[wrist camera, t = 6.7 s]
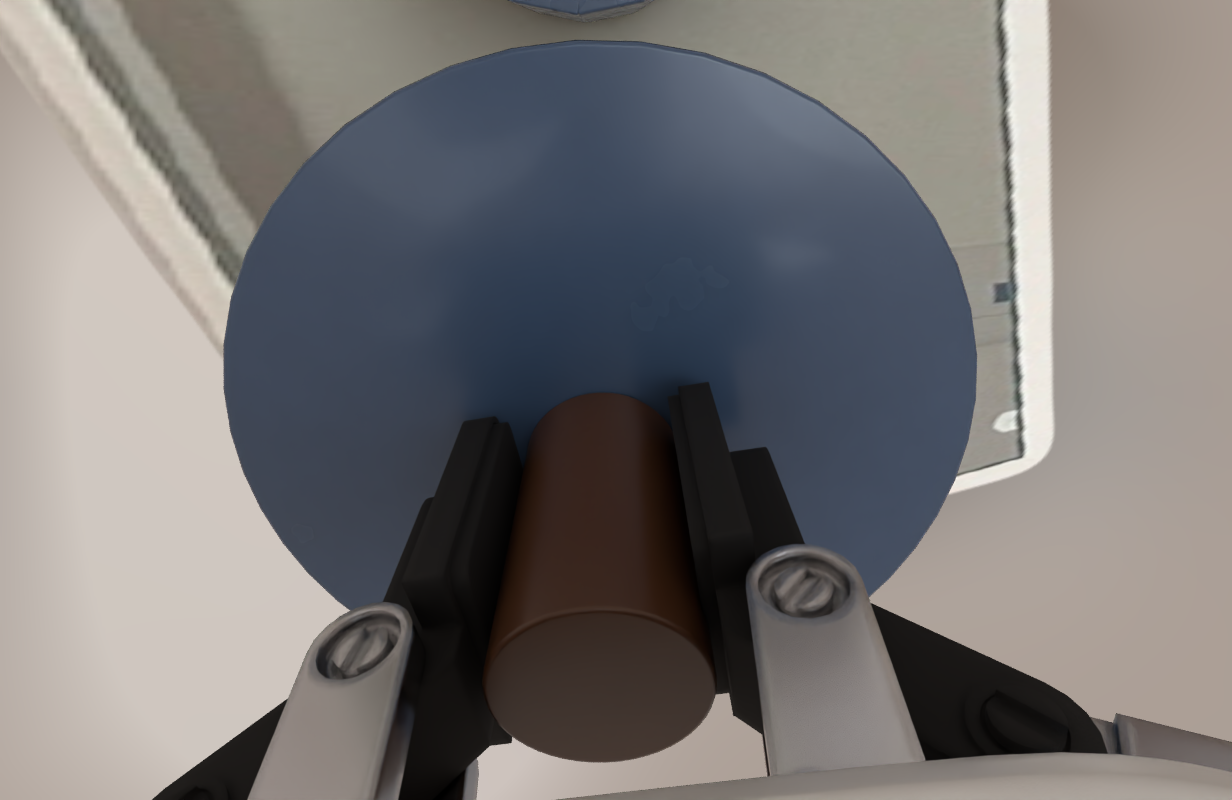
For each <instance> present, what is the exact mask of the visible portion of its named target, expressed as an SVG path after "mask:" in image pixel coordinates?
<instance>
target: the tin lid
mask: <svg viewBox="0 0 1232 800" xmlns="http://www.w3.org/2000/svg"><path fill="white" fill-rule="evenodd" d="M976 374H977V351H976V344H975V336H974V328H973V321H972V313H971V307H970V304H969V301H968V297H967V294H966V290H965V287H964V284H963V280H962V277H961V274H960V270H959V267H958V264H957V261H956V259H955V257H954V255H953V253H952V251H951V249H950V247H949V245H948V243H947V241H946V239H945V237H944V235H943V233H942V231H941V229H940V227H939V225H938V222H937V220H936V218H935V217H934V215H933V214H932V213H931V211H930V210H929V208H928V207H927V206H926V204H925V203H924V201H923V200H922V199H921V197H920V196H919V194H918V193H917V192H916V190H915V189H914V187H913V186H912V184H911V183H910V182H909V180H908V179H907V177H906V176H905V175H904V174H903V173H902V172H901V171H900V170H899V169H898V168H897V167H896V166H895V165H894V164H893V163H892V162H891V161H890V160H889V159H888V158H887V156H886V155H885V154H884V153H883V152H882V151H881V150H880V149H879V148H878V147H877V146H876V145H875V144H874V143H873V142H872V141H871V140H870V139H869V138H868V137H867V136H866V135H864V134H863V133H862V132H860V131H859V130H858V129H856V128H855V127H854V126H852V125H851V124H849V123H848V122H847V121H845V120H844V119H843V118H841V117H840V116H839V115H837V114H836V113H834V112H833V111H832V110H830V109H829V108H828V107H826V106H825V105H824V104H822V103H821V102H819V101H818V100H816V99H814V98H812V97H810V96H808V95H806V94H804V93H802V92H801V91H799V90H797V89H795V88H793V87H791V86H789V85H787V84H785V83H783V82H781V81H779V80H777V79H775V78H773V77H771V76H770V75H768V74H766V73H763V72H760V71H757V70H755V69H752V68H749V67H746V66H743V65H740V64H737V63H734V62H731V61H728V60H725V59H722V58H719V57H716V56H713V55H710V54H707V53H703V52H698V51H692V50H686V49H681V48H675V47H669V46H663V45H658V44H652V43H646V42H638V41H595V40H572V41H564V42H556V43H549V44H541V45H533V46H525V47H517V48H511V49H507V50H504V51H500V52H497V53H493V54H490V55H486V56H483V57H479V58H476V59H472V60H469V61H465V62H462V63H458V64H455V65H451V66H449V67H446V68H444V69H442V70H440V71H438V72H436V73H433V74H431V75H429V76H427V77H425V78H423V79H420V80H418V81H416V82H414V83H412V84H410V85H407V86H405V87H403V88H401V89H399V90H397V91H394V92H393V93H391V94H390V95H388V96H387V97H385V98H384V99H382V100H381V101H379V102H378V103H376V104H375V105H373V106H372V107H370V108H369V109H367V110H366V111H364V112H363V113H361V114H360V115H358V116H357V117H355V118H354V119H352V120H351V121H349V122H348V123H346V124H345V125H344V126H343V127H342V128H341V129H340V130H338V131H337V132H336V133H335V134H334V135H333V136H332V137H331V138H330V139H329V140H328V141H327V142H326V143H325V144H323V145H322V146H321V147H320V148H319V149H318V150H317V151H316V152H315V153H314V154H313V155H312V156H311V157H310V158H308V159H307V160H306V161H305V162H304V163H303V164H302V166H301V167H300V168H299V170H298V171H297V172H296V174H295V175H294V176H293V177H292V179H291V180H290V181H289V183H288V184H287V185H286V187H285V188H284V189H283V190H282V192H281V193H280V194H279V196H278V197H277V198H276V200H275V201H274V202H273V203H272V205H271V206H270V208H269V210H268V212H267V214H266V215H265V217H264V219H263V221H262V223H261V225H260V227H259V229H258V230H257V232H256V234H255V236H254V238H253V240H252V242H251V244H250V245H249V247H248V249H247V251H246V254H245V257H244V260H243V263H242V266H241V269H240V272H239V275H238V278H237V281H236V284H235V287H234V290H233V293H232V296H231V301H230V307H229V314H228V320H227V326H226V333H225V339H224V394H225V400H226V407H227V413H228V419H229V425H230V431H231V435H232V438H233V441H234V444H235V448H236V451H237V454H238V457H239V460H240V464H241V467H242V470H243V472H244V475H245V477H246V479H247V481H248V483H249V485H250V487H251V490H252V492H253V494H254V496H255V498H256V500H257V502H258V504H259V506H260V508H261V510H262V512H263V513H264V514H265V516H266V518H267V519H268V521H269V522H270V524H271V526H272V527H273V529H274V530H275V532H276V533H277V535H278V536H279V538H280V539H281V541H282V542H283V544H284V545H285V546H286V547H287V549H288V550H289V551H290V552H291V553H292V555H293V556H294V557H295V558H296V559H297V561H298V562H299V563H300V564H301V565H302V566H303V568H304V569H305V570H306V571H307V572H308V574H309V575H311V576H312V577H313V578H314V579H315V580H316V581H317V582H318V583H319V584H320V585H321V586H322V587H323V588H324V589H325V590H326V591H327V592H328V593H329V594H331V595H332V596H333V597H334V598H335V599H336V600H337V601H338V602H340V603H341V604H342V605H343V606H345V607H346V608H348V609H349V610H350V611H351V610H353V609H355V608H357V607H361V606H364V605H367V604H370V603H378V602H383V600H384V597H385V595H386V592H387V590H388V588H389V585H390V583H391V580H392V578H393V575H394V573H395V570H396V568H397V565H398V563H399V560H400V558H401V555H402V553H403V550H404V548H405V546H406V543H407V541H408V538H409V536H410V533H411V531H412V528H413V526H414V523H415V521H416V518H417V516H418V513H419V511H420V508H421V506H422V504H423V503H424V501H425V500H426V499H428V498H430V497H434V496H435V493H436V490H437V488H438V485H439V483H440V480H441V477H442V475H443V472H444V470H445V467H446V464H447V462H448V459H449V457H450V454H451V451H452V449H453V446H454V444H455V441H456V438H457V436H458V433H459V431H460V428H461V425H462V423H463V422H464V421H467V420H474V419H480V418H486V417H492V416H495V417H496V418H497V419H498V421H499V423H505V422H508V423H509V425H510V427H511V430H512V433H513V436H514V440H515V443H516V446H517V450H518V453H519V456H520V460H521V463H522V466H523V474H522V479H521V484H520V489H519V494H518V499H517V504H516V509H515V514H514V519H513V524H512V529H511V534H510V539H509V544H508V549H507V554H506V559H505V564H504V569H503V574H502V579H501V584H500V589H499V594H498V599H497V604H496V609H495V614H494V619H493V624H492V630H491V635H490V640H489V645H488V650H487V655H486V660H485V665H484V670H483V677H482V688H483V695H484V698H485V701H486V704H487V707H488V709H489V711H490V713H491V714H492V716H493V718H494V719H495V720H496V721H497V723H498V724H499V725H500V726H501V727H502V728H503V729H504V730H505V731H506V732H507V733H508V734H510V735H511V736H512V737H514V738H515V739H516V740H518V741H520V742H521V743H523V744H525V745H526V746H528V747H531V748H533V749H535V750H537V751H539V752H542V753H545V754H548V755H551V756H555V757H559V758H562V759H568V760H574V761H581V762H618V761H625V760H631V759H636V758H640V757H644V756H648V755H650V754H654V753H657V752H660V751H662V750H664V749H666V748H668V747H671V746H672V745H674V744H676V743H678V742H679V741H681V740H683V739H684V738H685V737H687V736H688V735H689V734H691V733H692V732H693V731H694V730H695V729H696V728H697V727H698V726H699V725H700V724H701V723H702V721H703V720H704V719H705V718H706V716H707V714H708V713H709V711H710V709H711V707H712V704H713V701H714V698H715V695H716V689H717V674H716V668H715V662H714V656H713V650H712V645H711V639H710V633H709V628H708V624H707V620H706V618H705V616H704V613H703V611H702V608H701V602H700V595H699V589H698V583H697V577H696V571H695V565H694V559H693V552H692V546H691V540H690V534H689V528H688V522H687V515H686V509H685V503H684V497H683V491H682V485H681V479H680V472H679V466H678V460H677V454H676V448H675V441H674V435H673V429H672V423H671V416H670V410H669V404H668V397H667V396H673V395H679V391H678V387H679V386H685V385H691V384H697V383H704V382H709V384H710V388H711V391H712V394H713V398H714V401H715V405H716V408H717V412H718V415H719V418H720V422H721V425H722V429H723V432H724V435H725V439H726V442H727V446H728V449H729V452H733V451H739V450H746V449H753V448H759V447H766V448H767V449H768V451H769V453H770V455H771V458H772V461H773V463H774V466H775V468H776V471H777V473H778V476H779V478H780V481H781V484H782V486H783V489H784V491H785V494H786V496H787V499H788V502H789V504H790V507H791V509H792V512H793V514H794V517H795V520H796V522H797V525H798V527H799V530H800V532H801V535H802V537H803V540H804V543H805V544H811V545H815V546H820V547H824V548H828V549H830V550H832V551H834V552H836V553H838V554H840V555H842V556H844V557H845V558H846V559H847V560H848V561H849V562H850V563H852V564H853V565H854V566H855V567H856V569H857V571H858V573H859V574H860V576H861V578H862V580H863V583H864V586H865V588H866V591H867V594H868V597H870V596H871V595H872V594H873V593H874V592H875V591H876V590H877V589H878V588H879V587H880V586H882V585H883V584H884V583H885V582H886V581H887V580H888V579H889V578H890V577H891V576H892V575H893V574H894V573H895V571H896V570H897V569H898V568H899V567H900V566H901V564H902V563H903V562H904V561H905V560H906V559H907V558H908V556H909V555H910V554H911V553H912V552H913V551H914V549H915V548H916V547H917V545H918V544H919V542H920V541H921V539H922V538H923V536H924V535H925V533H926V532H927V530H928V529H929V527H930V526H931V524H932V523H933V521H934V520H935V518H936V517H937V515H938V513H939V511H940V509H941V507H942V505H943V503H944V501H945V499H946V497H947V495H948V493H949V491H950V489H951V487H952V485H953V483H954V481H955V479H956V476H957V473H958V470H959V467H960V464H961V461H962V458H963V455H964V452H965V449H966V446H967V443H968V439H969V434H970V428H971V423H972V417H973V412H974V406H975V401H976Z"/></svg>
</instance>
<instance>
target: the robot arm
mask: <svg viewBox="0 0 1232 800" xmlns="http://www.w3.org/2000/svg"><path fill="white" fill-rule="evenodd" d="M678 391H679V395H673V396H667V397H668V404H669V410H670V416H671V423H672V429H673V435H674V441H675V448H676V454H677V460H678V466H679V472H680V479H681V485H682V491H683V497H684V503H685V509H686V515H687V522H688V528H689V534H690V540H691V546H692V552H693V559H694V565H695V571H696V577H697V583H698V589H699V595H700V602H701V608H702V611H703V613H704V616H705V618H706V620H707V624H708V628H709V633H710V639H711V645H712V650H713V656H714V662H715V668H716V674H717V689H716V694H723V693H729V694H730V700H731V705H732V710H733V716H736V717H737V718H739V719H740V720H742V721H743V722H745V723H746V724H748V725H749V726H751V727H752V728H754V729H755V730H757V731H758V732H759V733H761V734H762V741H763V749H764V756H765V763H766V772H767V777H760V778H751V779H741V780H732V781H722V782H713V783H704V784H695V785H686V786H676V787H667V788H657V789H648V790H639V791H630V792H622V793H612V794H603V795H595V796H585V797H576V798H567V799H558V800H1232V742H1229V741H1225V740H1221V739H1217V738H1213V737H1209V736H1205V735H1201V734H1197V733H1193V732H1189V731H1185V730H1181V729H1177V728H1173V727H1169V726H1165V725H1161V724H1157V723H1153V722H1149V721H1145V720H1141V719H1137V718H1133V717H1129V716H1125V715H1121V714H1117V713H1116V715H1115V719H1114V722H1113V723H1112V722H1108V721H1104V720H1100V719H1096V718H1092V717H1089V715H1088V714H1087V713H1086V712H1085V711H1084V710H1083V709H1082V708H1081V707H1080V706H1078V705H1077V704H1076V703H1075V702H1074V701H1073V700H1072V699H1071V698H1069V697H1068V696H1067V695H1065V694H1064V693H1062V692H1060V691H1058V690H1057V689H1055V688H1053V687H1051V686H1050V685H1048V684H1046V683H1044V682H1042V681H1040V680H1038V679H1036V678H1033V677H1031V676H1029V675H1027V674H1024V673H1023V672H1020V671H1018V670H1016V669H1014V668H1012V667H1009V666H1007V665H1005V664H1002V663H1001V662H998V661H996V660H994V659H992V658H990V657H988V656H985V655H983V654H981V653H979V652H977V651H974V650H972V649H970V648H968V647H966V646H964V645H961V644H959V643H957V642H955V641H953V640H950V639H948V638H946V637H944V636H942V635H940V634H937V633H935V632H933V631H931V630H929V629H926V628H924V627H922V626H920V625H918V624H916V623H913V622H911V621H909V620H907V619H905V618H902V617H900V616H898V615H896V614H894V613H891V612H889V611H887V610H885V609H883V608H881V607H878V606H876V605H874V604H872V603H870V600H869V597H868V594H867V591H866V588H865V586H864V583H863V580H862V578H861V576H860V574H859V573H858V571H857V569H856V567H855V566H854V565H853V564H852V563H850V562H849V561H848V560H847V559H846V558H845V557H844V556H842V555H840V554H838V553H836V552H834V551H832V550H830V549H828V548H824V547H820V546H815V545H811V544H805V543H804V540H803V537H802V535H801V532H800V530H799V527H798V525H797V522H796V520H795V517H794V514H793V512H792V509H791V507H790V504H789V502H788V499H787V496H786V494H785V491H784V489H783V486H782V484H781V481H780V478H779V476H778V473H777V471H776V468H775V466H774V463H773V461H772V458H771V455H770V453H769V451H768V449H767V448H766V447H759V448H753V449H746V450H739V451H733V452H729V449H728V446H727V442H726V439H725V435H724V432H723V429H722V425H721V422H720V418H719V415H718V412H717V408H716V405H715V401H714V398H713V394H712V391H711V388H710V384H709V382H704V383H697V384H691V385H685V386H679V387H678ZM522 474H523V466H522V463H521V460H520V456H519V453H518V450H517V446H516V443H515V440H514V436H513V433H512V430H511V427H510V425H509V423H508V422H505V423H499V421H498V419H497V418H496V417H495V416H492V417H486V418H480V419H474V420H467V421H464V422H463V423H462V425H461V428H460V431H459V433H458V436H457V438H456V441H455V444H454V446H453V449H452V451H451V454H450V457H449V459H448V462H447V464H446V467H445V470H444V472H443V475H442V477H441V480H440V483H439V485H438V488H437V490H436V493H435V496H434V497H430V498H428V499H426V500H425V501H424V503H423V504H422V506H421V508H420V511H419V513H418V516H417V518H416V521H415V523H414V526H413V528H412V531H411V533H410V536H409V538H408V541H407V543H406V546H405V548H404V550H403V553H402V555H401V558H400V560H399V563H398V565H397V568H396V570H395V573H394V575H393V578H392V580H391V583H390V585H389V588H388V590H387V592H386V595H385V597H384V600H383V602H378V603H370V604H367V605H364V606H361V607H357V608H355V609H353V610H351V611H349V612H347V613H345V614H343V615H342V616H340V617H339V618H337V619H336V620H335V621H334V622H332V623H331V624H329V625H328V626H327V627H326V628H325V629H324V630H323V631H322V632H321V633H320V634H319V635H318V636H317V637H316V639H315V640H314V641H313V643H312V645H311V646H310V648H309V650H308V652H307V653H306V656H305V658H304V661H303V663H302V666H301V668H300V671H299V673H298V675H297V678H296V680H295V683H294V685H293V688H292V690H291V693H290V695H289V698H288V699H287V700H285V701H284V702H283V703H281V704H280V705H278V706H277V707H276V708H274V709H273V710H272V711H270V712H269V713H267V714H266V715H265V716H263V717H262V718H261V719H259V720H258V721H256V722H255V723H254V724H252V725H251V726H250V727H248V728H247V729H246V730H244V731H243V732H241V733H240V734H239V735H237V736H236V737H235V738H233V739H232V740H230V741H229V742H228V743H226V744H225V745H224V746H222V747H221V748H220V749H218V750H217V751H215V752H214V753H213V754H211V755H210V756H209V757H207V758H206V759H205V760H203V761H202V762H200V763H199V764H198V765H196V766H195V767H194V768H192V769H191V770H190V771H188V772H187V773H185V774H184V775H183V776H181V777H180V778H179V779H177V780H176V781H174V782H173V783H172V784H170V785H169V786H168V787H166V788H165V789H164V790H163V791H161V792H160V793H159V794H158V795H157V796H156V797H154V798H153V799H152V800H476V797H477V787H478V776H479V771H478V760H477V757H478V756H479V755H481V754H482V753H483V752H484V751H485V750H486V749H487V748H488V747H489V746H491V745H499V744H508V743H511V742H512V736H511V735H510V734H508V733H507V732H506V731H505V730H504V729H503V728H502V727H501V726H500V725H499V724H498V723H497V721H496V720H495V719H494V718H493V716H492V714H491V713H490V711H489V709H488V707H487V704H486V701H485V698H484V695H483V688H482V677H483V670H484V665H485V660H486V655H487V650H488V645H489V640H490V635H491V630H492V624H493V619H494V614H495V609H496V604H497V599H498V594H499V589H500V584H501V579H502V574H503V569H504V564H505V559H506V554H507V549H508V544H509V539H510V534H511V529H512V524H513V519H514V514H515V509H516V504H517V499H518V494H519V489H520V484H521V479H522Z"/></svg>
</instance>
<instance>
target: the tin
mask: <svg viewBox="0 0 1232 800" xmlns="http://www.w3.org/2000/svg"><path fill="white" fill-rule="evenodd" d="M508 1H510V2H513V3H515V4H518V5H520V6H523V7H525V8H528V9H531V10H533V11H536V12H538V13H542V14H547V15H552V16H557V17H561V18H566V19H571V20H576V21H581V22H593V21H597V20H602V19H608V18H613V17H617V16H622V15H627V14H632V13H634V12H637V11H639V10H640V9H642V8H643V7H645V6H646V5H648V4H649V3H651V2H652V1H654V0H508Z"/></svg>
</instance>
